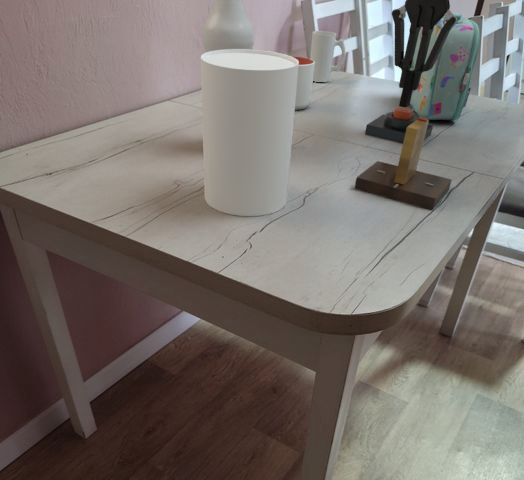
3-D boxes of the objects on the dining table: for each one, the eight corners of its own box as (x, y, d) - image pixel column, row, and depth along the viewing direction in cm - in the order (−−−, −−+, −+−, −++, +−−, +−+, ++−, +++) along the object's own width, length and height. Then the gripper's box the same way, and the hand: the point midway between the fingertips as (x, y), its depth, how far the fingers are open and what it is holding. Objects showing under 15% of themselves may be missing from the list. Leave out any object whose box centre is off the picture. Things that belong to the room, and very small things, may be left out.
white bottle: (257, 153, 96) (265, -25, 78) (210, 156, 93) (207, -28, 75) (243, 137, 103) (247, -31, 84) (199, 140, 100) (193, -33, 82)
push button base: (430, 135, 110) (435, 116, 108) (416, 147, 104) (421, 127, 101) (380, 124, 115) (384, 106, 112) (364, 135, 108) (368, 115, 106)
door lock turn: (404, 184, 82) (418, 127, 76) (393, 182, 83) (407, 125, 77) (415, 174, 86) (429, 118, 80) (405, 171, 87) (418, 116, 81)
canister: (187, 196, 80) (180, 55, 66) (244, 175, 87) (247, 45, 74) (247, 224, 73) (252, 75, 60) (303, 199, 81) (318, 62, 68)
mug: (305, 81, 143) (310, 33, 135) (309, 76, 148) (314, 30, 140) (340, 85, 141) (346, 37, 133) (342, 80, 146) (349, 33, 138)
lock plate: (448, 190, 87) (452, 178, 86) (432, 210, 80) (435, 197, 79) (375, 171, 92) (377, 159, 91) (354, 188, 85) (356, 176, 84)
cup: (276, 98, 127) (279, 54, 121) (313, 103, 126) (318, 59, 119) (265, 108, 120) (268, 61, 114) (305, 113, 118) (309, 66, 112)
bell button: (413, 117, 107) (415, 109, 106) (407, 122, 105) (409, 113, 104) (396, 114, 109) (398, 105, 108) (390, 118, 106) (391, 109, 105)
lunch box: (464, 129, 115) (498, 21, 101) (421, 126, 115) (449, 18, 101) (436, 99, 135) (460, 5, 121) (399, 96, 135) (419, 2, 121)
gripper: (476, -30, 90) (438, 107, 105) (408, -37, 95) (382, 96, 110) (466, -29, 85) (428, 115, 100) (395, -36, 90) (369, 103, 105)
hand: (404, 105), depth 105 cm, fingers closed
